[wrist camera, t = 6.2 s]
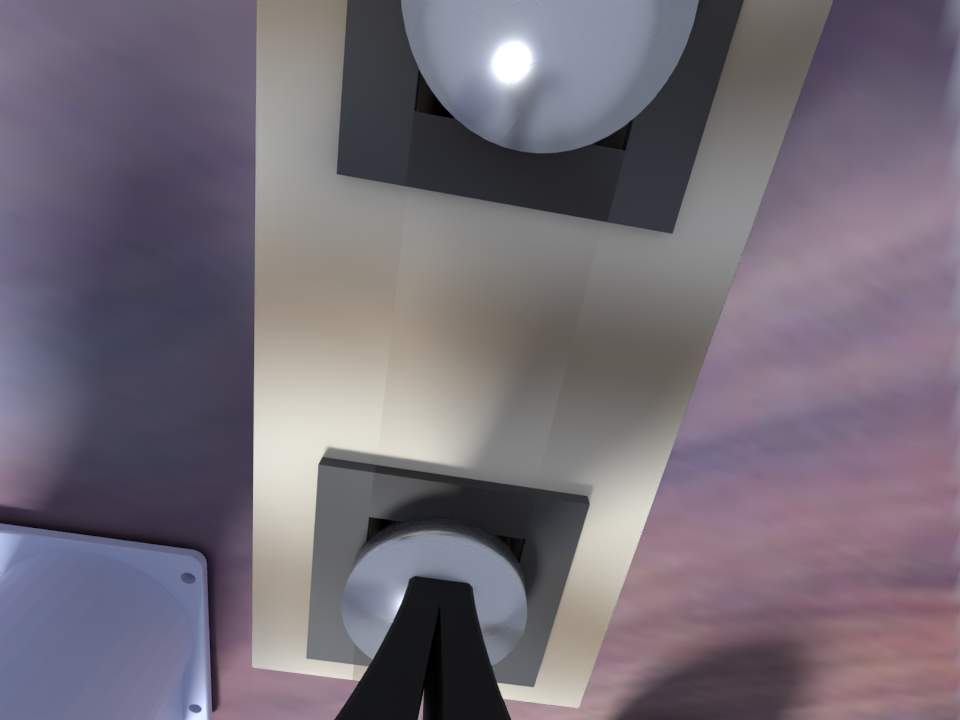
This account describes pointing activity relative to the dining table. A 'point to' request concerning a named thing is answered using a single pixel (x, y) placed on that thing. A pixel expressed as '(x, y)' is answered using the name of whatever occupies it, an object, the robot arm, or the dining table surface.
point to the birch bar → (486, 317)
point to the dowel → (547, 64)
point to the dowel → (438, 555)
